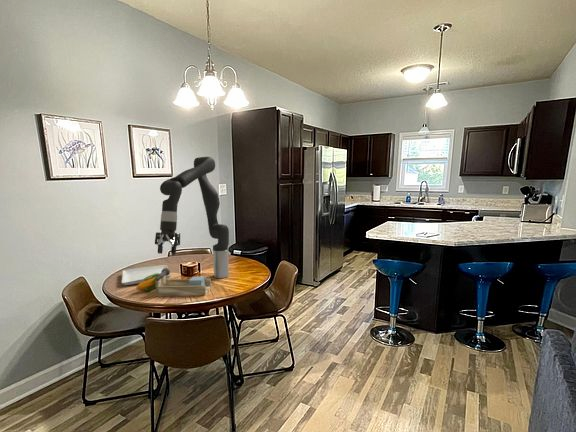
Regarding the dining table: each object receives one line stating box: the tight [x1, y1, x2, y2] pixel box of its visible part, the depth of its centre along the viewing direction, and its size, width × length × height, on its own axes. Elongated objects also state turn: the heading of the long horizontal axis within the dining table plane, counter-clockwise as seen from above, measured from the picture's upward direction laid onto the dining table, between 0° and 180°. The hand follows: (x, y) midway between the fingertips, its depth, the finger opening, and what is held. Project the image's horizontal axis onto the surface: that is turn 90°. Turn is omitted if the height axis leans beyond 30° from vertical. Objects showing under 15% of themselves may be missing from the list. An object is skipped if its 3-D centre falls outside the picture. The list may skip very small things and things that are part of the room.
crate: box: [189, 275, 206, 286], centre depth 168 cm, size 7×7×6 cm
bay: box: [155, 267, 212, 297], centre depth 169 cm, size 13×28×11 cm, turn 91°
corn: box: [135, 273, 159, 292], centre depth 174 cm, size 7×8×20 cm
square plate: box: [121, 264, 172, 286], centre depth 194 cm, size 27×27×4 cm
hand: (166, 253), depth 150 cm, fingers open, 8 cm apart
